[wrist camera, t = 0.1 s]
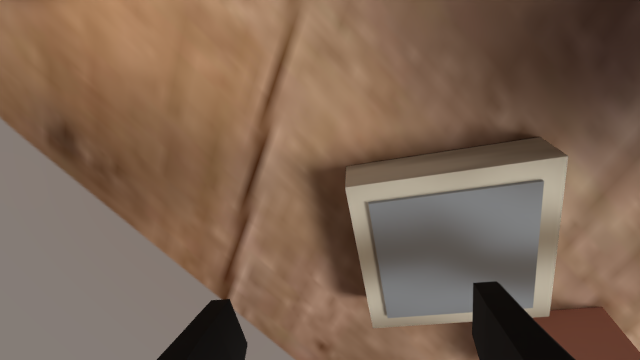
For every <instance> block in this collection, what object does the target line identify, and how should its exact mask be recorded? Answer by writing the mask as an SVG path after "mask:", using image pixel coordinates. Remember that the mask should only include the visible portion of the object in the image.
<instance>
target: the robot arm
mask: <svg viewBox="0 0 640 360" xmlns="http://www.w3.org/2000/svg"><path fill="white" fill-rule="evenodd" d="M472 335H473V339H474V342H475V346H476V349H477V353H478V356H479V360H576V359H574V358H573V357H572V356H571V355H570V354H569V353H568V352H567V351H566V350H565V349H564V348H563V347H562V346H561V345H560V344H559V343H558V342H557V341H555V340H554V339H553V338H552V337H551V336H550V335H549V334H548V333H547V332H546V331H545V330H544V329H543V328H542V327H541V326H540V325H539V324H538V323H537V322H536V321H535V320H534V319H533V318H532V317H531V316H530V315H529V314H528V313H527V312H526V311H525V310H524V309H523V308H522V307H521V306H520V305H519V303H518V302H517V301H516V300H515V299H514V298H513V297H512V296H511V295H510V294H509V293H508V292H507V291H506V290H505V289H504V287H503V286H502V285H501V284H500V283H498V282H497V281H493V282H478V283H473V318H472ZM246 349H247V342H246V339H245V337H244V334H243V332H242V329H241V327H240V324H239V322H238V319H237V317H236V314H235V312H234V309H233V307H232V304H231V302H230V299H225V300H211V301H210V303H209V304H208V305H207V306H206V307H205V308H204V309H203V310H202V311H201V312H200V313H199V314H198V315H197V316H196V317H195V319H194V320H193V321H192V322H191V323H190V324H189V325H188V326H187V327H186V329H185V330H184V331H183V332H182V333H181V334H180V335H179V336H178V337H177V338H176V339H175V341H174V342H173V343H172V344H171V345H170V346H169V347H168V348H167V349H166V350H165V351H164V352H163V353H162V355H161V356H160V357H159V358H158V359H157V360H245V355H246Z"/></svg>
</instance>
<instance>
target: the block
mask: <svg viewBox="0 0 640 360" xmlns="http://www.w3.org/2000/svg"><path fill="white" fill-rule="evenodd" d="M533 319H534V320H535V321H536V322H537V323H538V324H539V325H540V326H541V327H542V328H543V329H544V330H545V331H546V332H547V333H548V334H549V335H550V336H551V337H552V338H553V339H554V340H555V341H557V342H558V343H559V344H560V345H561V346H562V347H563V348H564V349H565V350H566V351H567V352H568V353H569V354H570V355H571V356H572V357H573V358H574V359H576V360H640V352H639V351H638V350H637V348H636V347H635V346H634V345H633V344H632V342H631V341H630V340H629V339H628V338H627V336H626V335H625V334H624V333H623V331H622V330H621V329H620V328H619V327H618V325H617V324H616V323H615V322H614V321H613V319H612V318H611V317H610V316H609V315H608V313H607V312H606V311H605V310H604V309H603V307H594V308H580V309H565V310H551V311H550V314H549V317H534V318H533Z"/></svg>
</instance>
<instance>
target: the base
mask: <svg viewBox="0 0 640 360" xmlns="http://www.w3.org/2000/svg"><path fill="white" fill-rule="evenodd" d="M567 163H568V156H567V155H566V154H564V153H563V152H562V151H560V150H559V149H557V148H556V147H554V146H553V145H551V144H550V143H549V142H547V141H546V140H544V139H543V138H541V137H538V138H531V139H525V140H518V141H511V142H505V143H498V144H492V145H485V146H478V147H472V148H465V149H459V150H452V151H445V152H439V153H432V154H425V155H419V156H412V157H406V158H399V159H392V160H386V161H379V162H373V163H366V164H359V165H353V166H346V180H345V190H346V195H347V200H348V205H349V210H350V215H351V220H352V225H353V230H354V235H355V240H356V245H357V250H358V255H359V260H360V265H361V270H362V275H363V280H364V285H365V290H366V295H367V300H368V305H369V311H370V316H371V321H372V326H373V328H384V327H399V326H414V325H429V324H444V323H459V322H472V318H473V283H478V282H493V281H497V282H498V283H500V284H501V285H502V286H503V287H504V289H505V290H506V291H507V292H508V293H509V294H510V295H511V296H512V297H513V298H514V299H515V300H516V301H517V302H518V303H519V305H520V306H521V307H522V308H523V309H524V310H525V311H526V312H527V313H528V314H529V315H530V316H531V317H532V318H534V317H549V314H550V306H551V298H552V289H553V281H554V272H555V264H556V255H557V247H558V239H559V230H560V222H561V213H562V205H563V196H564V188H565V180H566V171H567Z"/></svg>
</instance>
